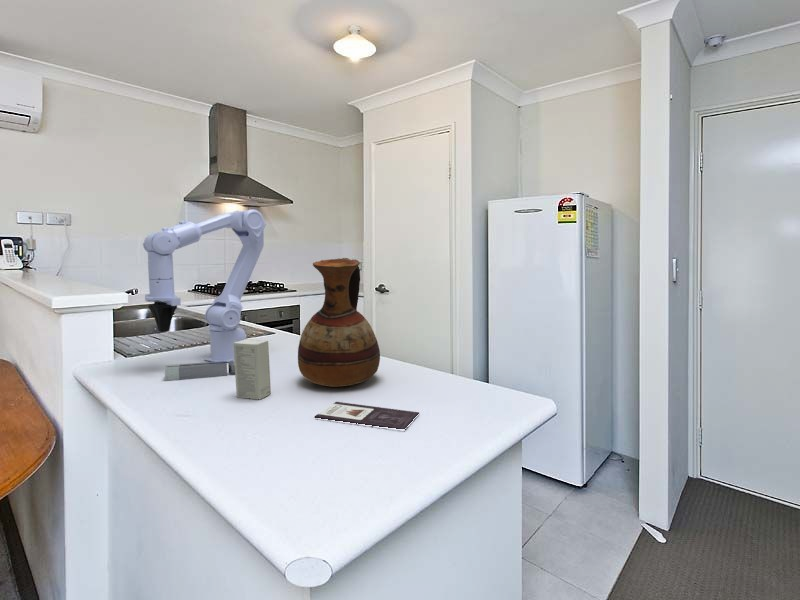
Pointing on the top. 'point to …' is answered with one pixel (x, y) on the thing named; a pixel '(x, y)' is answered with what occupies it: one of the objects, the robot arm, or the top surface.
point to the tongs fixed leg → (230, 364)
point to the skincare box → (252, 368)
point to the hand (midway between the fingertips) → (164, 331)
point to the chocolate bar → (368, 415)
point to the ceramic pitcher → (338, 331)
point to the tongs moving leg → (195, 371)
